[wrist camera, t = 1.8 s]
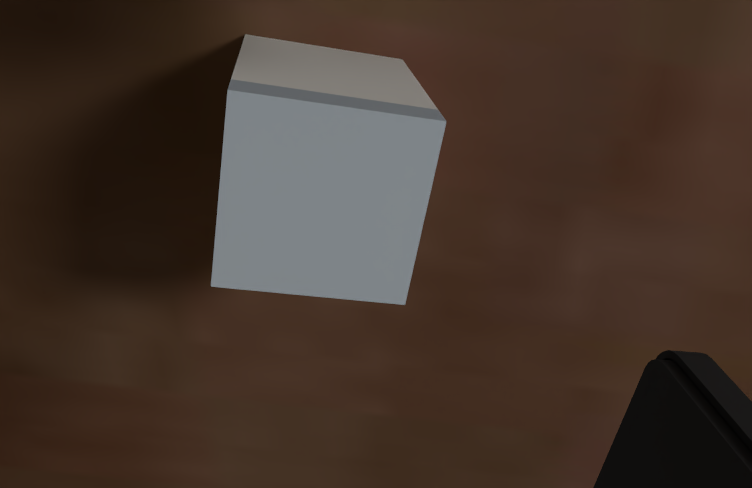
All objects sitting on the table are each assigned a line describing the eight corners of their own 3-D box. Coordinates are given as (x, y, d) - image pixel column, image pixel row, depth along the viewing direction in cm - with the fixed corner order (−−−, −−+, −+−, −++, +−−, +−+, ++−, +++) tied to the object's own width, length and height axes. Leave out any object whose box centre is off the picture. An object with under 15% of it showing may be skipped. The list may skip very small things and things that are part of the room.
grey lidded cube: (375, 200, 24) (404, 304, 18) (231, 183, 23) (210, 286, 17) (402, 59, 22) (446, 121, 16) (245, 33, 21) (227, 89, 15)
